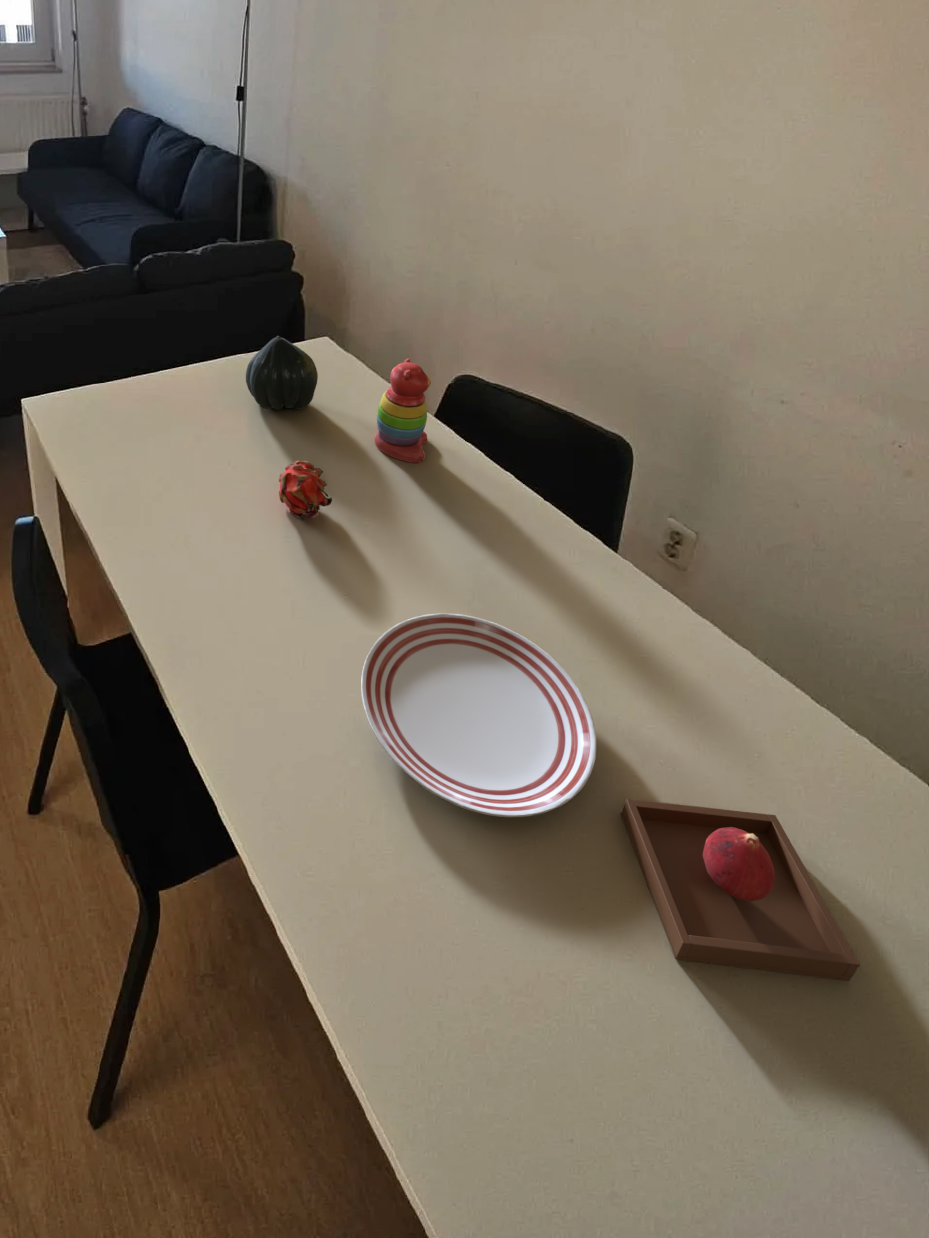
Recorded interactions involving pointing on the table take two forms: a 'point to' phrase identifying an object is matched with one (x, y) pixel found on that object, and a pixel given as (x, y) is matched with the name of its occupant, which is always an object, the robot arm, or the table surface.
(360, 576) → the table surface
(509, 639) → the dinner plate
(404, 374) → the stacking bear
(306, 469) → the dragon fruit
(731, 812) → the tray
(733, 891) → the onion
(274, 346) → the squash
